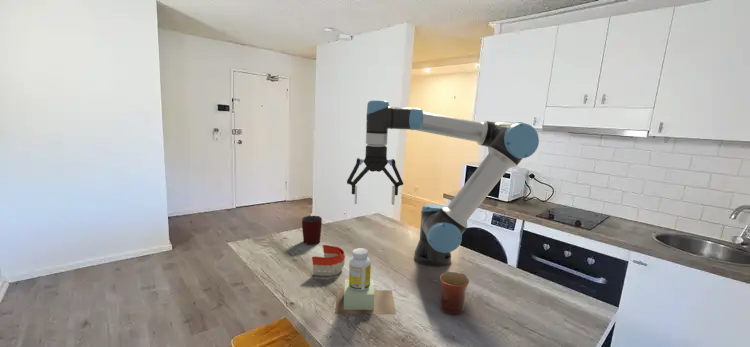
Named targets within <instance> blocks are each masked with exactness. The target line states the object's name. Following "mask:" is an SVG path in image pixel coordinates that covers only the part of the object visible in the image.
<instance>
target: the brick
mask: <svg viewBox="0 0 750 347" xmlns="http://www.w3.org/2000/svg"><path fill="white" fill-rule="evenodd" d="M343 290H344V310H374V290H375V284H374V279H373V278H372V279H371V278H370V286H369V288H368V289H366V290H363V291H356V290H353V289H351V288H350V286H349V278H345V279H344V289H343Z"/></svg>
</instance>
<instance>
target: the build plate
mask: <svg viewBox="0 0 750 347" xmlns="http://www.w3.org/2000/svg"><path fill="white" fill-rule="evenodd" d="M334 310H335V311H334V314H335V315H374V314H375V315H396V314H397V311H396V306H395V300H394V294H393V290H388V289H387V290H386V289H385V290H382V289H381V290H379V289H377V290H376V289H374V310H344V289H337V291H336V300H335V309H334Z"/></svg>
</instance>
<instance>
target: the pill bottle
mask: <svg viewBox="0 0 750 347" xmlns="http://www.w3.org/2000/svg"><path fill="white" fill-rule="evenodd" d="M368 256H369V250H368V249H367V248H363V247H362V248H361V247H360V248H359V247H358V248H355V249H352V257H351V258H350V259H349V262H348V263H349V266H348V269H349V275H348V279H349V286H350V288H351V289H353V290H356V291H363V290H366V289H368V288H369V286H370V279H371V267H372V266H371V265H372V264H371V263H372V262H371V259H370V258H369V257H368Z"/></svg>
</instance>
